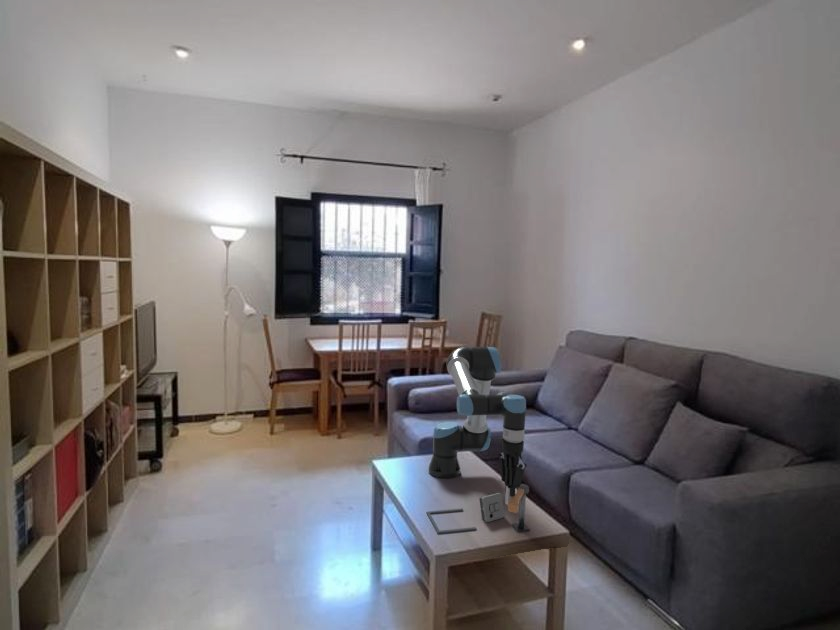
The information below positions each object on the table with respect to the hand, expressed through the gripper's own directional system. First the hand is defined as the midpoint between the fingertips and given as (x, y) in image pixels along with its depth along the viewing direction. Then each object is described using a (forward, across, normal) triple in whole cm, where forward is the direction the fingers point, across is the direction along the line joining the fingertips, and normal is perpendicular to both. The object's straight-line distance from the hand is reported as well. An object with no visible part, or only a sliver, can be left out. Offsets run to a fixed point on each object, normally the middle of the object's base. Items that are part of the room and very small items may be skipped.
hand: (509, 503), depth 178 cm
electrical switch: (+14, -16, +4) cm, 21 cm away
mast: (+13, -4, +10) cm, 17 cm away
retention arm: (+1, 0, +4) cm, 4 cm away
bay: (+14, -20, -11) cm, 26 cm away
